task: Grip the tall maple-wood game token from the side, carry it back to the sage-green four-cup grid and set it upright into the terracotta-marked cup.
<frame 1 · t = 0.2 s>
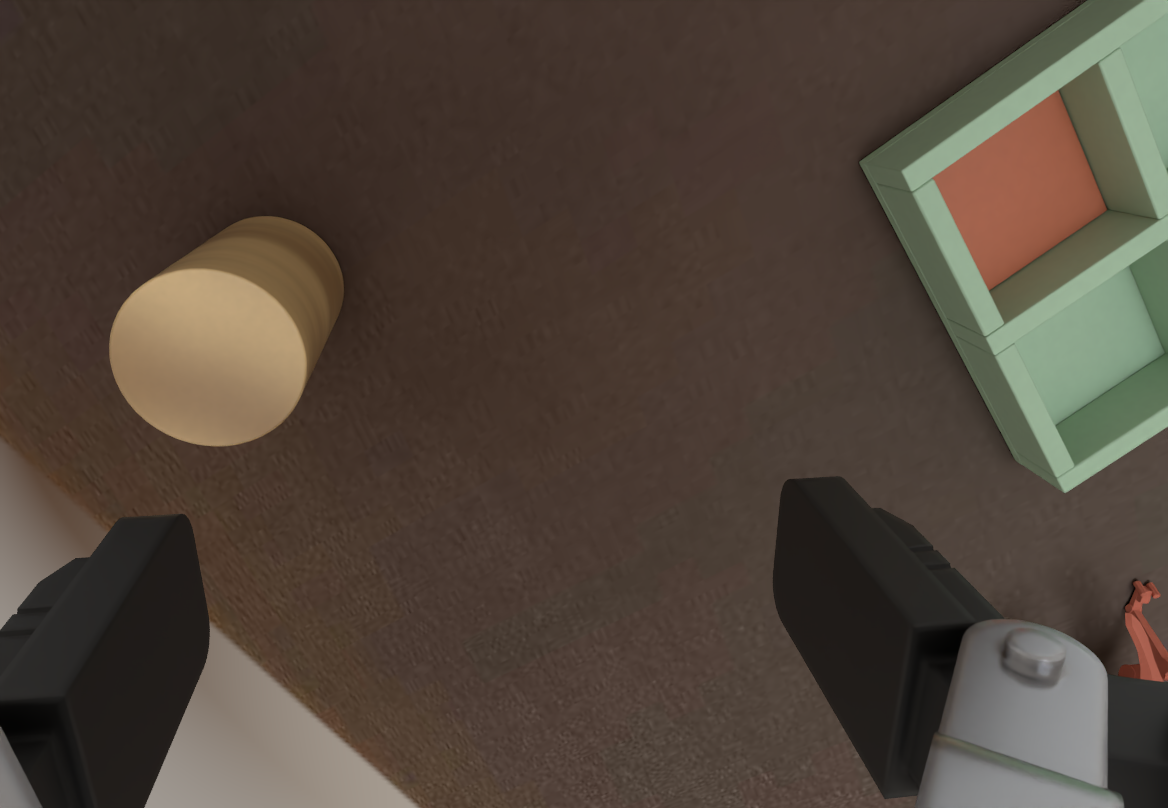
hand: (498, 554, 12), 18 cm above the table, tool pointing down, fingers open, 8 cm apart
beetle: (1066, 697, 39), on the table
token: (273, 285, 28), on the table
grid: (1109, 210, 31), on the table
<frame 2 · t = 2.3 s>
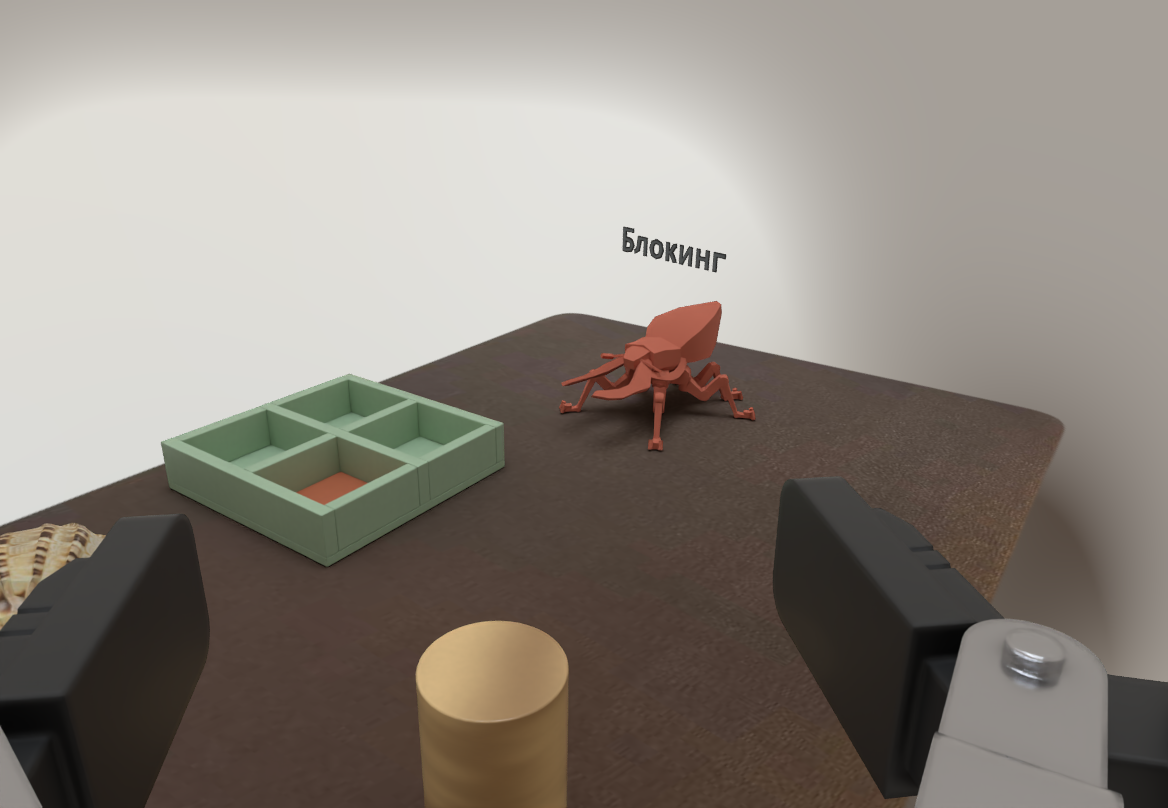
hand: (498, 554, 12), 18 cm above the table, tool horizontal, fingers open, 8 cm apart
beetle: (648, 414, 63), on the table
grid: (342, 476, 53), on the table
seashell: (58, 634, 39), on the table
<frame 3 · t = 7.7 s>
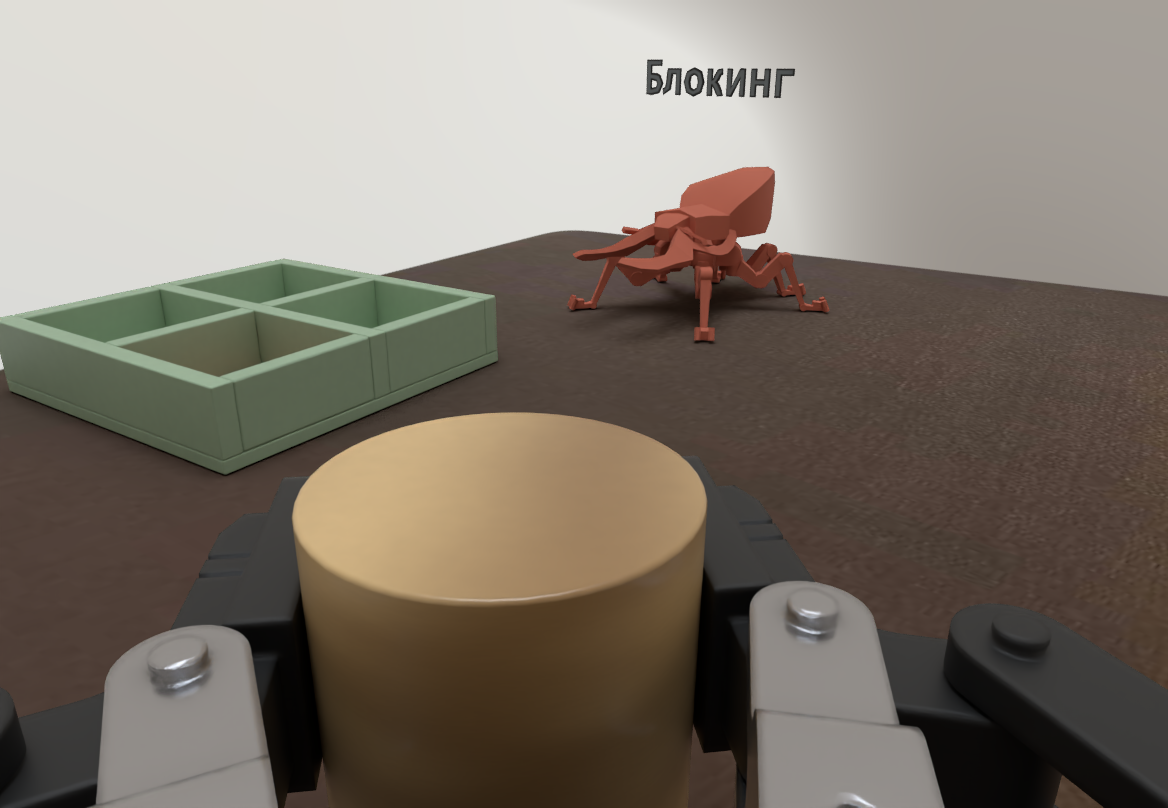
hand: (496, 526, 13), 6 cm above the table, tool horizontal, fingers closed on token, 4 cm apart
beetle: (686, 311, 47), on the table
grid: (266, 375, 37), on the table
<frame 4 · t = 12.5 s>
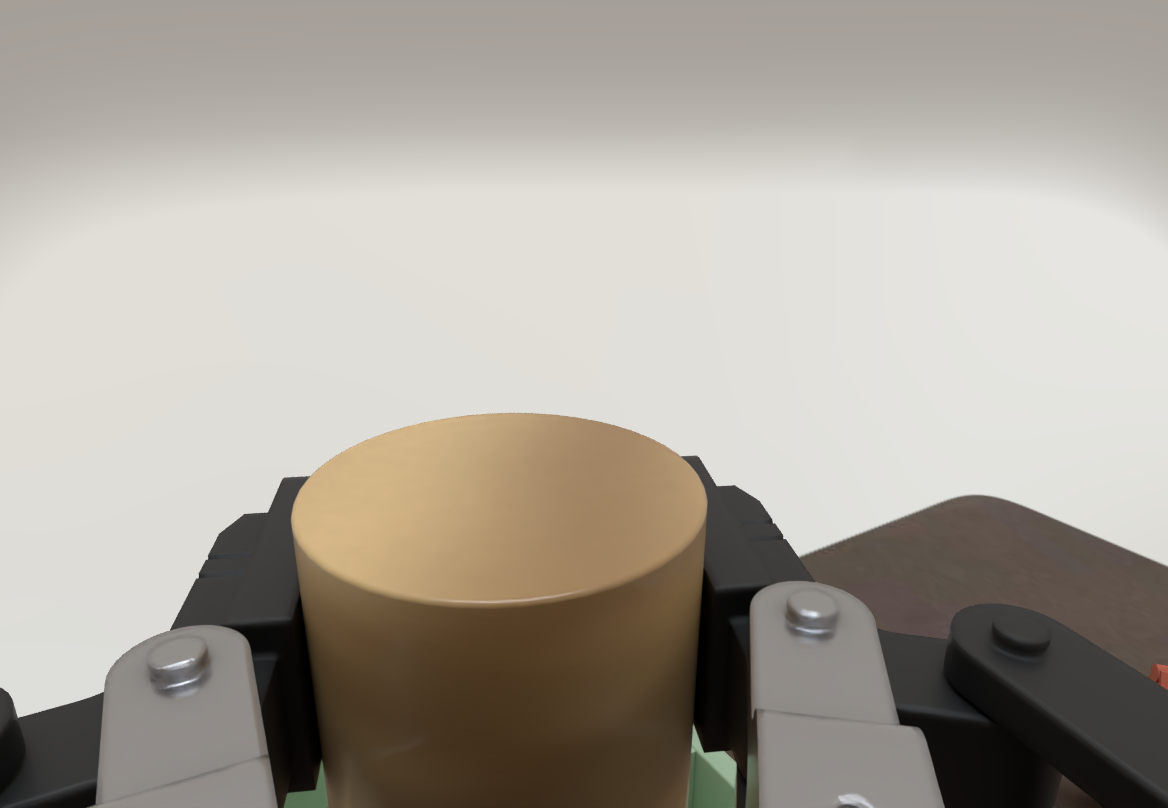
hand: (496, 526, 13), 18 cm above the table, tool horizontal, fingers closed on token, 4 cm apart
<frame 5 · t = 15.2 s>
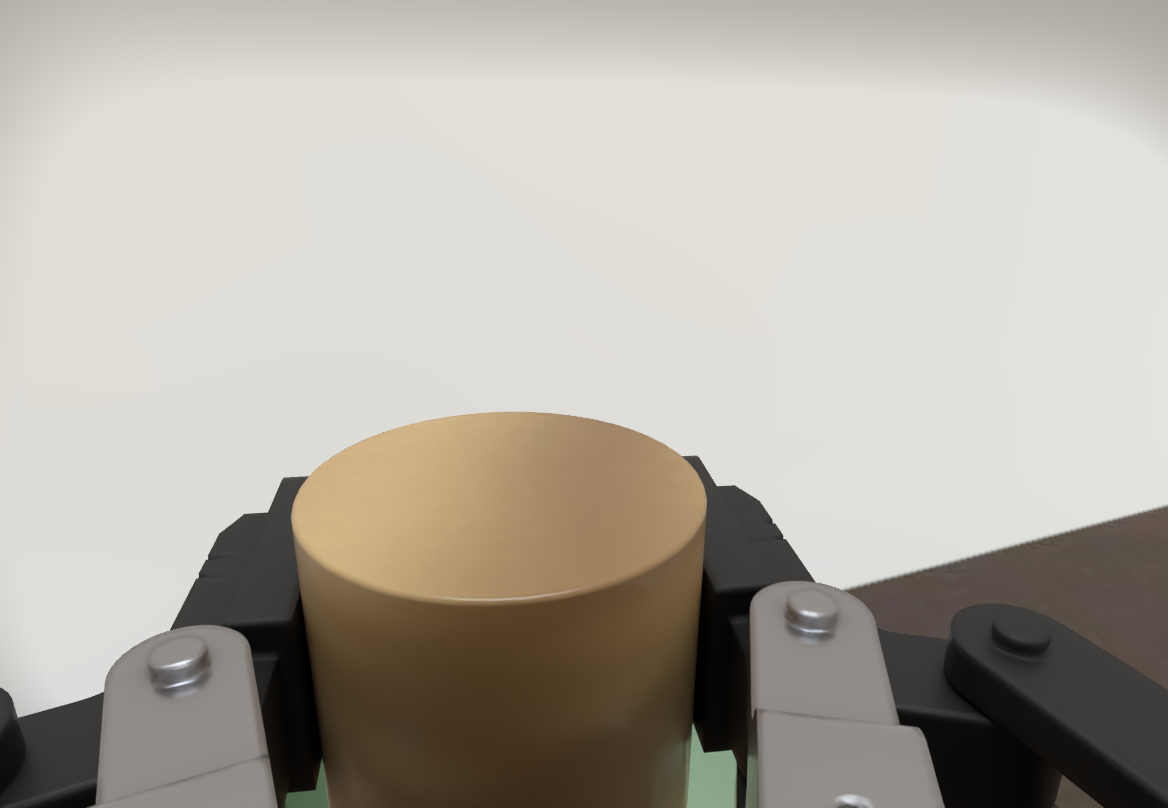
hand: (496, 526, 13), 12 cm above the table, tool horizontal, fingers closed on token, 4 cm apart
when the fingers open (7 cm above the table, at t = 17.1 s): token stays where it is, resting on grid.
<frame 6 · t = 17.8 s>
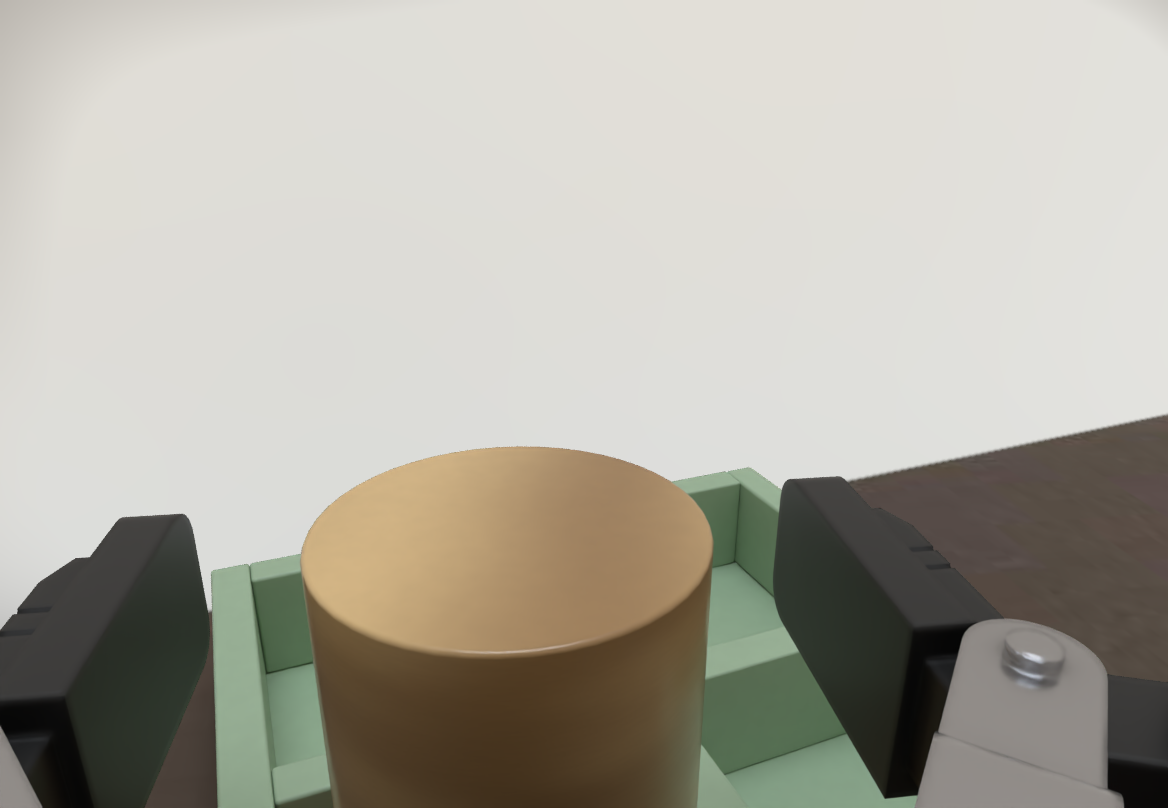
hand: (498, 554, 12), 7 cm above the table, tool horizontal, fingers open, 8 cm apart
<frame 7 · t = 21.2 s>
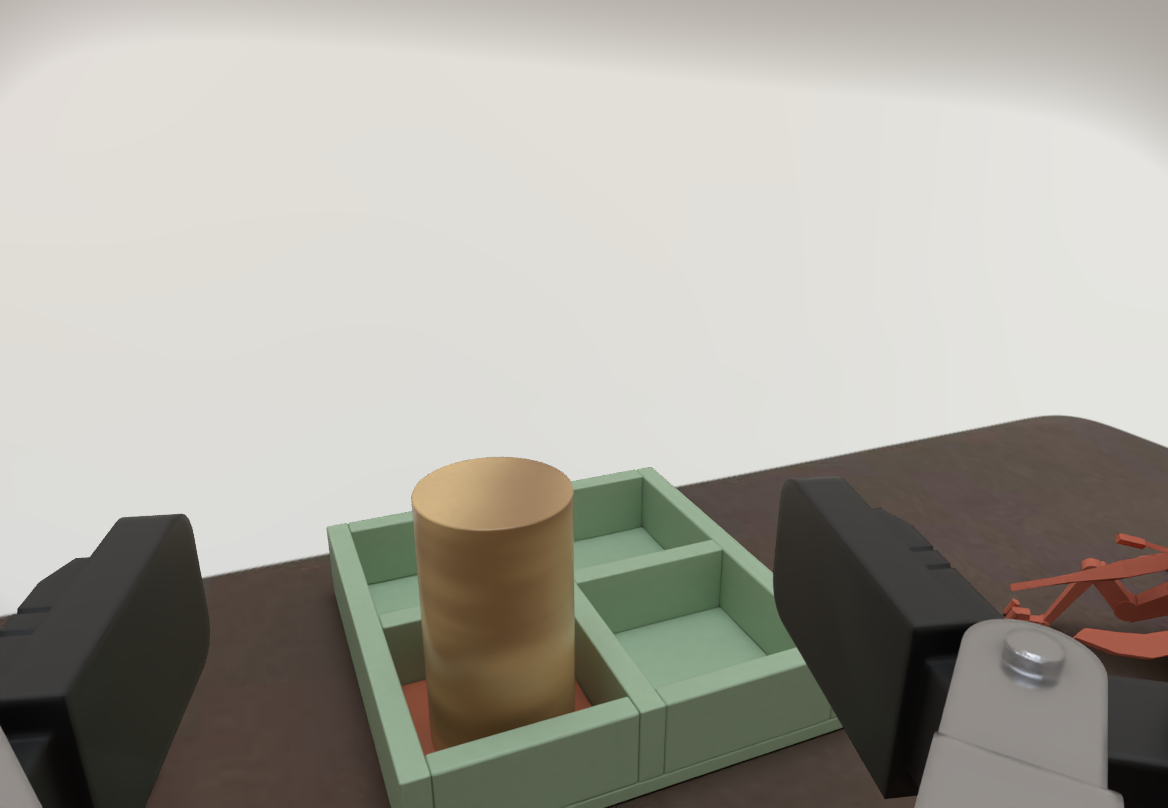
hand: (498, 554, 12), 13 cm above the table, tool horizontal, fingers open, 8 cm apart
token: (503, 724, 26), point 1 cm above the table, touching grid
grid: (562, 651, 31), on the table
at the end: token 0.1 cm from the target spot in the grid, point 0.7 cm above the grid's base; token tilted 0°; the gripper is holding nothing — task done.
